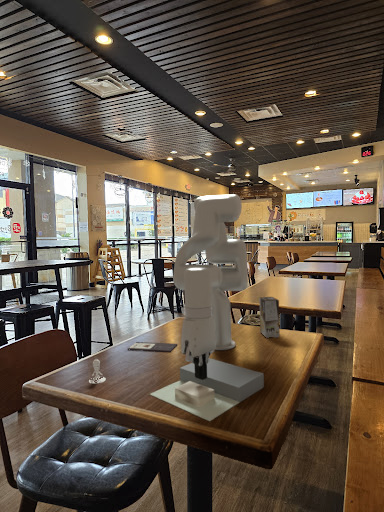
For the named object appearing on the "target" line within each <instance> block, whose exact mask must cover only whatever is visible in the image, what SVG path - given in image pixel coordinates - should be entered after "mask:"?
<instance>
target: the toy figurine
mask: <svg viewBox="0 0 384 512" xmlns="http://www.w3.org/2000/svg"><path fill="white" fill-rule="evenodd" d="M91 361H92V360H91ZM100 364H101V361H100V360H99V359H98V357H97V356H95V357H94V360H93V361H92V368H93V370H94V371H93V373H92V374H91V375H92V378H93V380H90V379H89V380H88V382H89V383H90V384H94V385H95V384H101V383H104V382H105V381H106V379H107V378H106V377H104V376H103V373H101V372H100V366H101V365H100ZM100 375H101V376H100ZM93 376H94V377H93ZM100 377H103V378H101V379H99V378H100ZM97 378H98V380H97ZM95 380H97V381H95ZM94 381H95V382H97V383H95V382H94Z"/></svg>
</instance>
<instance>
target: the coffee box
mask: <svg viewBox="0 0 384 512" xmlns="http://www.w3.org/2000/svg"><path fill="white" fill-rule="evenodd" d="M258 300H259V322H260V323H259V325H260V326H259V327H260V329H259V330H260V332H261V333H262V334H263V335H264V336H265V337H266V339H270V338H269V337H274V338H280V337H279V336H280V335H281V334H280V331H281V330H280V299H277V298H275V297H274V296H262V297H259V299H258ZM261 333H260V334H261ZM262 334H261V335H262ZM264 336H263V337H264Z"/></svg>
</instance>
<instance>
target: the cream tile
mask: <svg viewBox="0 0 384 512" xmlns="http://www.w3.org/2000/svg"><path fill="white" fill-rule="evenodd" d="M175 397H176V398H179V399H181V400H183V401H186V402H188V403H190V404H193V405H195V406H198V407H201V406H203V405H205V404H206V403H208V402H210V401H212V400H213V399H215V395H214V389H211V388H208V387H205V386H203V385H200V384H197V383H194V382H191V381H189V382H187V383H185V384H182V385H180V386H178V387H176V388H175Z"/></svg>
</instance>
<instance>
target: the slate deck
mask: <svg viewBox="0 0 384 512" xmlns="http://www.w3.org/2000/svg"><path fill="white" fill-rule="evenodd" d="M264 374H265V373H263V372H260V371H256V370H253V369H249V368H245V367H241V366H237V365H235V364H232V363H227V362H224V361H221V360H217V359H214V358H210V357H209V360H208V363H207V378H206V379H204V380H201V379H198V378H196V377H195V364H193V362H189V364H186V365H183V366H181V367H179V380H181V381H184V382H189V381H191V382H194V383H197V384H200V385H203V386H205V387H208V388H211V389H214V393H216V394H219V395H222V396H225V397H227V398H230V399H233V400H236V401H238V402H239V403H241V402H243V401H245V400H246V399H248V398H249V397H251V396H252V395H254V394H255V393H257V392H259V391H260V390H262V389H263V388H265V380H264V379H265V377H264ZM239 403H238V404H239Z"/></svg>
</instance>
